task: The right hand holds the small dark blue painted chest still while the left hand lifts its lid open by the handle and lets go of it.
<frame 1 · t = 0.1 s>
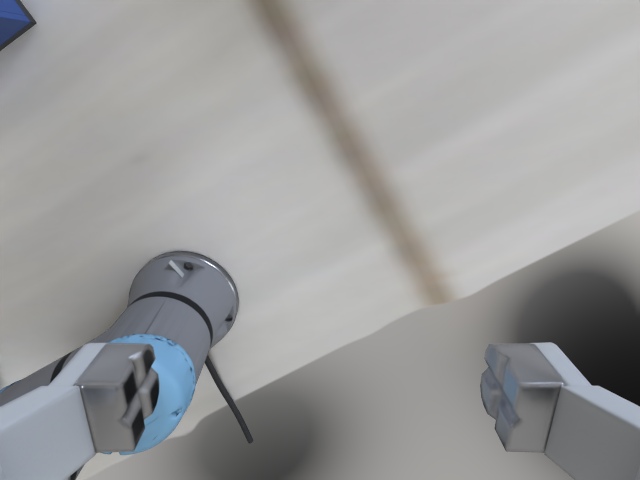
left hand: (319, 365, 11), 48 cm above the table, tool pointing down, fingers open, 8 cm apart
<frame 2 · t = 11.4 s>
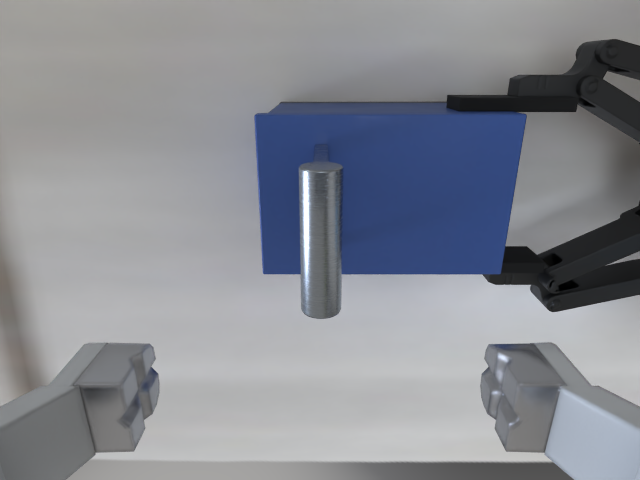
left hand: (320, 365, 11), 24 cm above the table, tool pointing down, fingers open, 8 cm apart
right hand: (444, 186, 27), fingers closed on chest, 9 cm apart
lid: (395, 218, 21), point 13 cm above the table, hinge at 0.0°
chest: (372, 165, 33), on the table, touching right hand
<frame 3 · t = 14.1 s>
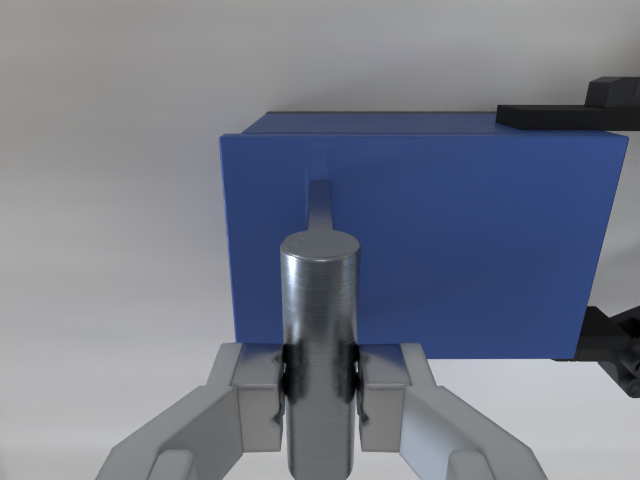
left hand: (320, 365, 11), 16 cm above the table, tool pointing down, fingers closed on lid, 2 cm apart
lid: (435, 300, 14), point 13 cm above the table, hinge at 0.6°, touching left hand
chest: (387, 193, 26), on the table, touching right hand
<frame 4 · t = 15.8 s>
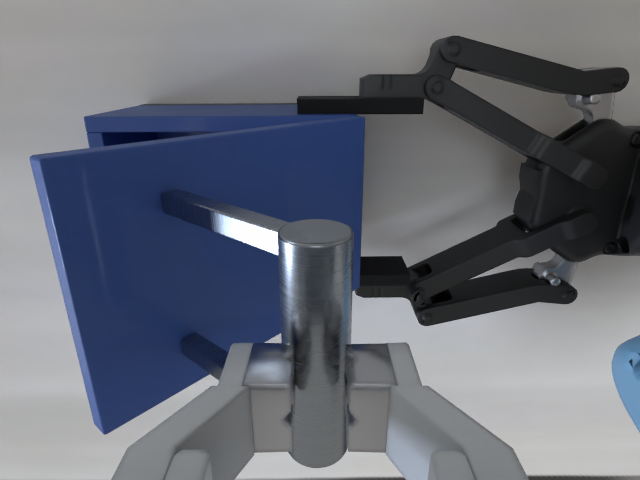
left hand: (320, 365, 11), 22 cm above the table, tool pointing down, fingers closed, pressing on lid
right hand: (300, 194, 25), fingers closed on chest, 9 cm apart
lid: (318, 269, 16), point 17 cm above the table, hinge at 47.7°, touching left hand
chest: (250, 170, 31), on the table, touching right hand
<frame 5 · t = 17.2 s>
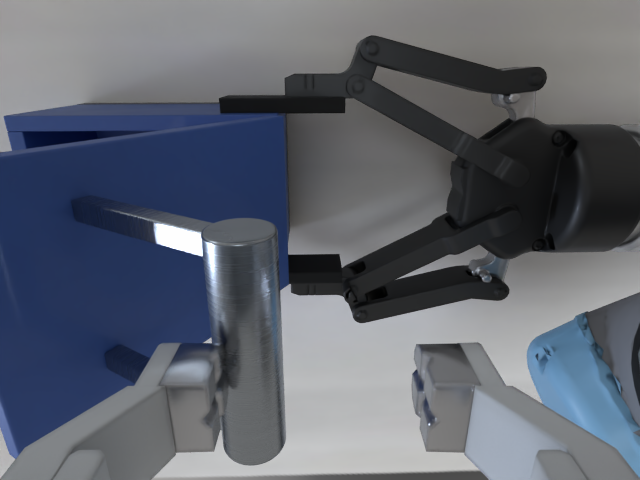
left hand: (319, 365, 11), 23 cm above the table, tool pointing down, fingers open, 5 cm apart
right hand: (231, 192, 26), fingers closed on chest, 9 cm apart
lid: (245, 268, 16), point 17 cm above the table, hinge at 57.0°, touching left hand
chest: (193, 169, 32), on the table, touching right hand
when the right hand's fingers open (6 cm above the table, at t = 21.0 s): chest stays where it is, on the table.
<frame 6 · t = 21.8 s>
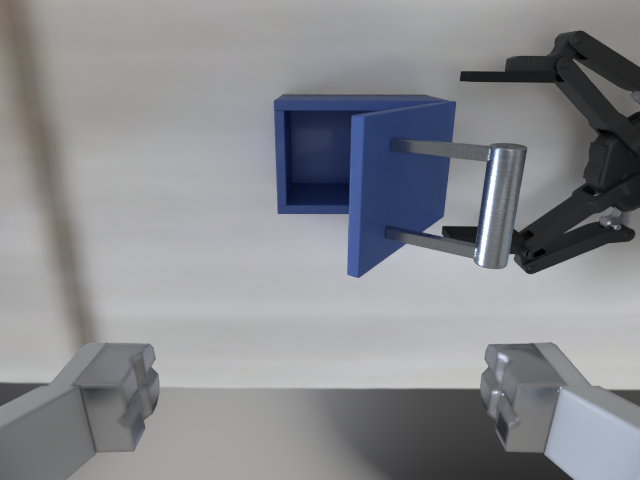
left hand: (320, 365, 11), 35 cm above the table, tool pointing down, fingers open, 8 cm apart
right hand: (454, 160, 38), fingers open, 13 cm apart
lid: (461, 185, 28), point 17 cm above the table, hinge at 55.3°
chest: (352, 143, 44), on the table
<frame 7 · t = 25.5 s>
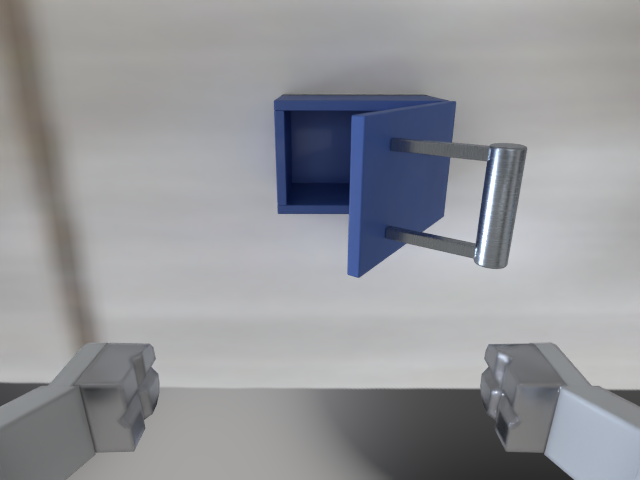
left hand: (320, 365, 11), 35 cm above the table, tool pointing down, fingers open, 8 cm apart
lid: (461, 185, 28), point 17 cm above the table, hinge at 55.3°
chest: (352, 143, 44), on the table
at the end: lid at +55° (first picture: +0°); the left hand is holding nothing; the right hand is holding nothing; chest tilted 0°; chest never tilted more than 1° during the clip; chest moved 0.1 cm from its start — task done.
